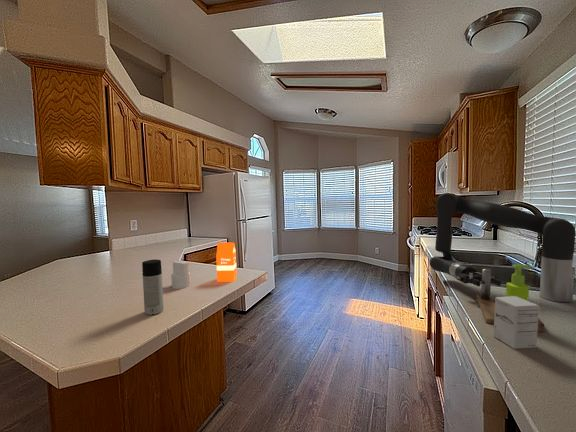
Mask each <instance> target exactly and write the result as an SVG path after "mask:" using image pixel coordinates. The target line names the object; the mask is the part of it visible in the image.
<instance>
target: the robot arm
mask: <svg viewBox="0 0 576 432" xmlns="http://www.w3.org/2000/svg"><path fill="white" fill-rule="evenodd" d="M436 212H437V216H436V217H437V221H436V222H437V225H436V236H435V247H434V248H435V249H434V250H435V251H436V252H438V253H442V256H437V255H435V256H432V257H431V258H430V260H429V266H430V268H431V269H432V270H434V271H436V272H440V273H442V274H443V273H444V274H447V275H449V276H452V277H453V278H454V279H456V280H457V281H459V282H461V283H462V284H466V285H467V284H470V285H474V286H476V287H481V283H482V272H478V271H477V270H476V268H475V267H473V266H470V265H467V264H466V263H461V262H458V261H455V260H454V259H453V254H452V241H453V232H452V231H453V230H452V229H453V228H452V220H453V214H454V213H459V214H464V215H468V216H470V217H473V218H475V219H478V220H480V221H482V222H485V223H488V224H492V225H496V226H499V227H503V228H504V227H505V228H509V229H518V230H519V229H520V230H525V231H529V232H533V233H536V234H539V235H542V245H541V261H540V263H541V264H540V265H541V267H540V283H539V284H540V285H539V297H541V298H543V299H545V300H547V301H548V300H549V301H553V302H559V303H573V301H574V299H573V298H574V285H575V280H574V278H573V264H574V263H573V262H574V253H575V245H576V244H575V242H576V228H575V225H574V224H573V223H571V221H569V220H567V219H564V218H559V217H558V218H557V217H550V216H544V215H538V214H534V213H530V212H527V211H524V210H520V209H518V208H515V207H511V206H507V205H503V204H498V203H493V202H488V201H479V200H473V199H468V198H466V197H463V196H460V195H456V194H454V193H450V192H444V193H441V194H439V195H438V197H437V198H436ZM498 277H499V276H496V275H494V274H491V285H492V284H493V285H495V286H497V287H500V286H501V285H502V280H500V279H498Z"/></svg>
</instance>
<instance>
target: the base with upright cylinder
mask: <svg viewBox="0 0 576 432" xmlns="http://www.w3.org/2000/svg"><path fill="white" fill-rule="evenodd" d="M481 274H482V282H480V289H481V290H480V294H476V300H477V302H478V306H479V307H480V311H481V313H482V316H483V319H484V321H485V323H488V324H492V325H494V316H495V300H494V299H493V297H492V296H491V288H492V287H491V285H492V283H491V275H492V269H490V268H481ZM537 332H541V333H544V332H545V324H544V322H543V321H542V320H541V319H540V318H539V317H538V330H537Z"/></svg>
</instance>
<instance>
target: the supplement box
mask: <svg viewBox="0 0 576 432" xmlns="http://www.w3.org/2000/svg"><path fill="white" fill-rule="evenodd" d="M494 303H495V316H494V324H493V337H494V338H496V339H498V340H499V341H501V342H503V343H504V344H506V345H508V346H509V347H511V348H513V349H514V350H517V349H533V348H534V349H535V348H537V343H538V331H537V330H538V318H539V313H540V312H539V311H540V305H539V304H536V303H533V302H531V301H529V300H528V301H526V300H524V299H521V298H519V297H516V296H509V297H506V296H496V297H495V298H494Z"/></svg>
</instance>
